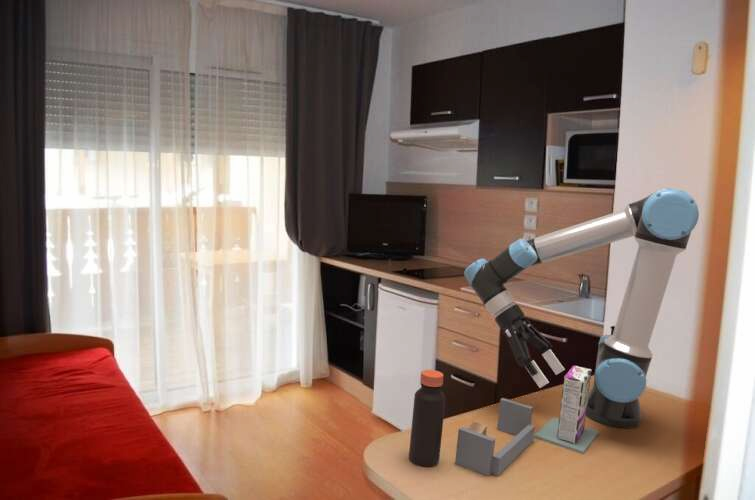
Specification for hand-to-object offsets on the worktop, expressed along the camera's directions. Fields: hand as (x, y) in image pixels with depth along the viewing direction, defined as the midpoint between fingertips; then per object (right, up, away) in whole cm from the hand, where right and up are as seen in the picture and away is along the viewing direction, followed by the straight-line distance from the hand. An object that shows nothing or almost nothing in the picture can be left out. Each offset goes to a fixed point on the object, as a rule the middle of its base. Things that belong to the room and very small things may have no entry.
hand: (552, 378), depth 147 cm
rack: (-18, -14, -14) cm, 27 cm away
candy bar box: (+3, -14, -3) cm, 14 cm away
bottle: (-36, -13, -21) cm, 44 cm away
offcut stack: (-23, -13, -14) cm, 30 cm away
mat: (+3, -14, -3) cm, 14 cm away
